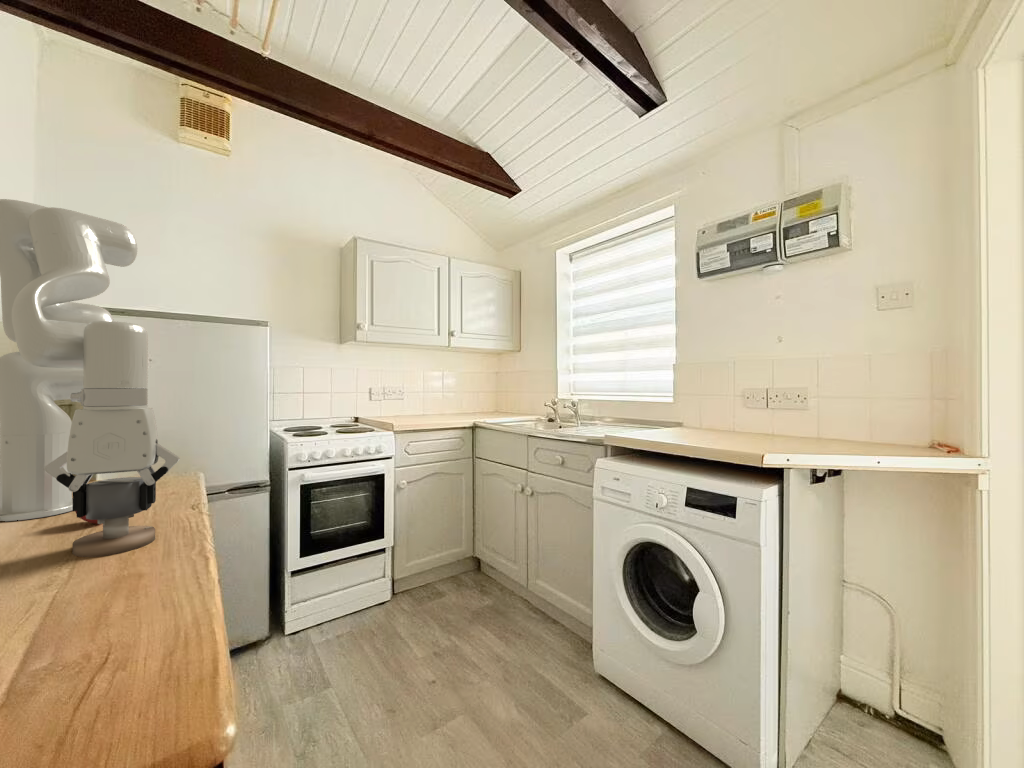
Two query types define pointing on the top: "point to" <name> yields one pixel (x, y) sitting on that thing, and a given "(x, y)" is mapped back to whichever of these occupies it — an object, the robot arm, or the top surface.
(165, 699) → the top surface
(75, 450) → the robot arm
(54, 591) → the top surface
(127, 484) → the grey striped cylinder
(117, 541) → the post base
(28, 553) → the top surface
